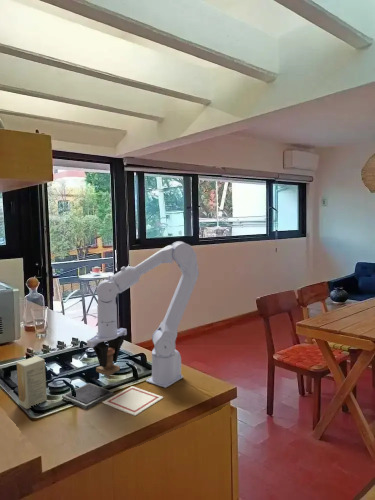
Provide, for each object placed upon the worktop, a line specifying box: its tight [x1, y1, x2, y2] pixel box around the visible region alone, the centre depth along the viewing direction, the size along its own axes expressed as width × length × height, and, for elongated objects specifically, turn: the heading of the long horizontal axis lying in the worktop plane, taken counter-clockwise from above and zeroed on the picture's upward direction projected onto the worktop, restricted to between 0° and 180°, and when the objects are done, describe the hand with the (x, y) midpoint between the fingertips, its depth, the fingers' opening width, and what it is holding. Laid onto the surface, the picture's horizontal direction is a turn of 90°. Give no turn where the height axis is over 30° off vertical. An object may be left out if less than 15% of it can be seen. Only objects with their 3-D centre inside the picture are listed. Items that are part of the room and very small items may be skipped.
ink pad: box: [61, 382, 114, 410], centre depth 111 cm, size 10×10×1 cm
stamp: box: [95, 347, 121, 377], centre depth 119 cm, size 5×5×7 cm
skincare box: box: [16, 355, 48, 410], centre depth 107 cm, size 6×4×12 cm
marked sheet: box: [102, 386, 164, 417], centre depth 110 cm, size 12×12×1 cm
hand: (108, 363), depth 119 cm, fingers closed on stamp, 4 cm apart
